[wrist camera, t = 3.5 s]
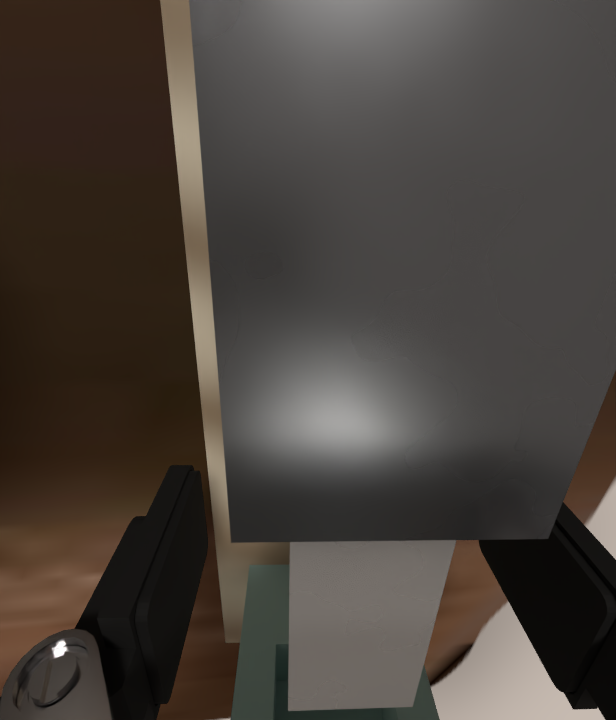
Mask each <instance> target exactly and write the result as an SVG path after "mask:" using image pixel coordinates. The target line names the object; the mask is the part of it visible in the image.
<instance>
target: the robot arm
mask: <svg viewBox="0 0 616 720" xmlns="http://www.w3.org/2000/svg"><path fill="white" fill-rule="evenodd" d="M479 545H480V549H481V551H482V553H483V555H484V557H485V559H486V561H487V563H488V564H489V566H490V568H491V570H492V572H493V574H494V575H495V577H496V579H497V581H498V583H499V585H500V586H501V588H502V590H503V592H504V594H505V596H506V597H507V599H508V601H509V603H510V605H511V606H512V608H513V610H514V612H515V614H516V616H517V618H518V620H519V621H520V623H521V625H522V627H523V629H524V631H525V632H526V634H527V636H528V638H529V640H530V641H531V643H532V645H533V647H534V649H535V651H536V653H537V654H538V656H539V658H540V660H541V662H542V664H543V665H544V667H545V669H546V671H547V673H548V675H549V676H550V678H551V680H552V682H553V683H554V685H555V686H556V688H557V689H558V690H559V691H561V692H564V694H565V695H566V697H567V699H568V701H569V703H570V704H571V706H572V708H573V709H597V707H598V708H599V710H600V711H601V713H602V715H603V716H604V718H605V719H606V720H616V560H615V559H614V558H613V556H612V555H611V554H610V553H609V552H608V551H607V550H606V549H605V548H604V546H603V545H602V544H601V543H600V542H599V541H598V540H597V539H596V538H595V537H594V536H593V534H592V533H591V532H590V531H589V530H588V529H587V528H586V527H585V526H584V525H583V523H582V522H581V521H580V520H579V519H578V518H577V517H576V516H575V515H574V514H573V512H572V511H571V510H570V509H569V508H568V507H567V506H566V505H565V504H564V503H562V505H561V508H560V510H559V513H558V515H557V518H556V520H555V523H554V525H553V528H552V530H551V533H550V535H549V538H548V539H504V540H479ZM207 549H208V537H207V528H206V519H205V509H204V500H203V491H202V482H201V474H200V471H194V468H193V466H192V465H172V466H170V468H169V469H168V471H167V473H166V476H165V478H164V480H163V482H162V484H161V486H160V488H159V490H158V492H157V494H156V496H155V498H154V501H153V503H152V505H151V507H150V509H149V511H148V513H147V515H146V516H136V517H135V518H133V519H132V521H131V522H130V524H129V526H128V528H127V529H126V531H125V533H124V535H123V537H122V539H121V541H120V543H119V545H118V547H117V549H116V551H115V553H114V554H113V556H112V558H111V560H110V562H109V564H108V566H107V568H106V570H105V572H104V574H103V576H102V577H101V579H100V581H99V583H98V585H97V587H96V589H95V591H94V593H93V595H92V597H91V599H90V600H89V602H88V604H87V606H86V608H85V610H84V612H83V614H82V616H81V618H80V620H79V622H78V623H77V625H76V627H75V629H70V630H63V631H61V632H58V633H56V634H53V635H51V636H49V637H47V638H46V639H44V640H43V641H41V642H40V643H38V644H37V645H35V646H34V647H33V648H32V649H31V650H30V651H29V652H28V653H26V654H25V655H24V656H23V657H22V658H21V660H20V661H19V662H18V664H17V665H16V666H15V667H14V669H13V670H12V671H11V673H10V675H9V677H8V679H7V681H6V683H5V685H4V687H3V691H2V696H1V697H0V720H156V719H157V715H158V711H159V708H160V704H167V703H168V701H169V699H170V697H171V693H172V689H173V685H174V681H175V677H176V674H177V670H178V666H179V662H180V658H181V654H182V650H183V646H184V642H185V638H186V634H187V630H188V626H189V622H190V618H191V614H192V610H193V606H194V602H195V598H196V594H197V591H198V587H199V583H200V579H201V575H202V571H203V567H204V563H205V559H206V555H207Z"/></svg>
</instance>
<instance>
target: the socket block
mask: <svg viewBox="0 0 616 720" xmlns="http://www.w3.org/2000/svg"><path fill="white" fill-rule="evenodd" d="M289 572H290V564H289V565H249V574H248V582H247V590H246V598H245V606H244V615H243V623H242V631H241V639H240V647H239V655H238V664H237V672H236V680H235V688H234V696H233V705H232V713H231V720H440V719H439V716H438V713H437V709H436V705H435V702H434V699H433V695H432V691H431V688H430V684H429V681H428V677H427V674H426V670H425V667H424V665H423V669H422V673H421V677H420V681H419V684H418V688H417V692H416V696H415V700H414V704H413V707H394V708H364V709H334V710H304V711H288V666H289Z"/></svg>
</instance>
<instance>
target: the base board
mask: <svg viewBox="0 0 616 720" xmlns="http://www.w3.org/2000/svg"><path fill="white" fill-rule="evenodd" d="M160 1H161V11H162V21H163V31H164V41H165V51H166V61H167V70H168V80H169V90H170V100H171V110H172V120H173V130H174V139H175V149H176V159H177V169H178V179H179V189H180V199H181V209H182V218H183V228H184V238H185V248H186V258H187V268H188V278H189V288H190V297H191V307H192V317H193V327H194V337H195V347H196V357H197V366H198V376H199V386H200V396H201V406H202V416H203V426H204V436H205V445H206V455H207V465H208V475H209V485H210V495H211V505H212V514H213V524H214V534H215V544H216V554H217V564H218V574H219V584H220V593H221V603H222V613H223V623H224V633H225V643H240V639H241V631H242V623H243V615H244V606H245V598H246V590H247V582H248V574H249V565H289V564H290V542H255V543H231V536H230V523H229V510H228V497H227V484H226V471H225V458H224V445H223V433H222V420H221V407H220V394H219V381H218V368H217V355H216V342H215V330H214V317H213V304H212V291H211V278H210V265H209V252H208V239H207V226H206V214H205V201H204V188H203V175H202V162H201V149H200V136H199V123H198V111H197V98H196V85H195V72H194V59H193V46H192V33H191V20H190V7H189V0H160Z"/></svg>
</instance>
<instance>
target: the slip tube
mask: <svg viewBox="0 0 616 720" xmlns="http://www.w3.org/2000/svg"><path fill="white" fill-rule="evenodd" d="M455 543H456V540H421V541H338V542H290V572H289V666H288V711H304V710H334V709H364V708H394V707H413V704H414V700H415V696H416V692H417V688H418V684H419V681H420V677H421V673H422V669H423V665H424V662H425V658H426V654H427V650H428V646H429V642H430V639H431V635H432V631H433V627H434V623H435V619H436V616H437V612H438V608H439V604H440V600H441V597H442V593H443V589H444V585H445V581H446V577H447V574H448V570H449V566H450V562H451V558H452V555H453V551H454V547H455Z"/></svg>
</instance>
